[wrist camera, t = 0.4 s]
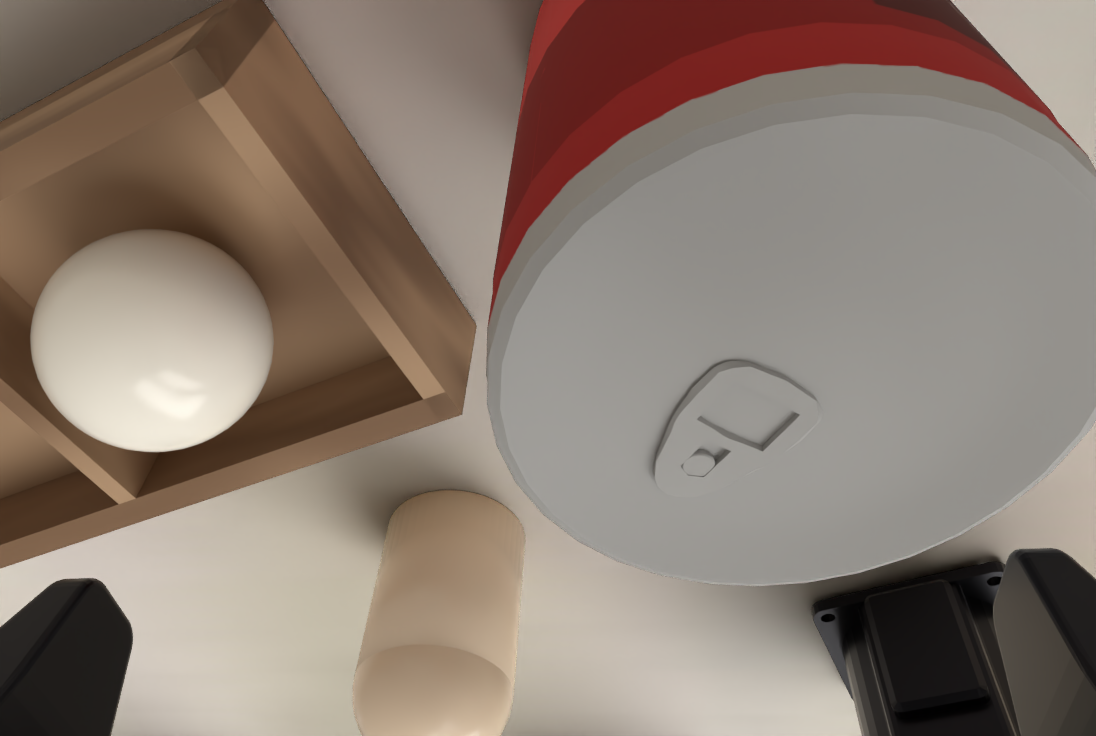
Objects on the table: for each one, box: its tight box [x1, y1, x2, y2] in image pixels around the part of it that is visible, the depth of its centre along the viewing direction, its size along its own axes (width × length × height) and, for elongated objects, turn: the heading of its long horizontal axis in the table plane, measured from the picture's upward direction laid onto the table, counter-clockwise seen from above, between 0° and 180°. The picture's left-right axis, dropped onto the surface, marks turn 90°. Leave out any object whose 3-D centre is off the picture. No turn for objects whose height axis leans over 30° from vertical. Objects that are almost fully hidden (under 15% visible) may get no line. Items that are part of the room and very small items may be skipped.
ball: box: [30, 229, 274, 452], centre depth 20 cm, size 5×5×5 cm
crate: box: [0, 0, 476, 568], centre depth 23 cm, size 10×20×4 cm, turn 116°
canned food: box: [486, 0, 1096, 586], centre depth 15 cm, size 8×8×11 cm
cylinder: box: [353, 490, 525, 736], centre depth 27 cm, size 5×5×8 cm
